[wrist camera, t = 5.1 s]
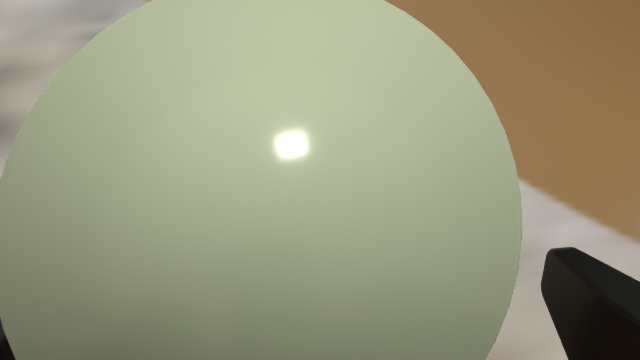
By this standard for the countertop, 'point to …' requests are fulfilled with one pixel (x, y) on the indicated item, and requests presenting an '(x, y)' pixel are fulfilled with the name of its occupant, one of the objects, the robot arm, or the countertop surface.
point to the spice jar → (260, 192)
